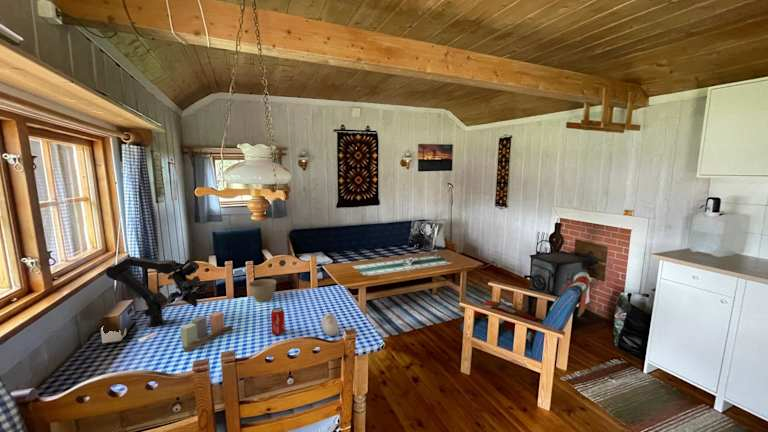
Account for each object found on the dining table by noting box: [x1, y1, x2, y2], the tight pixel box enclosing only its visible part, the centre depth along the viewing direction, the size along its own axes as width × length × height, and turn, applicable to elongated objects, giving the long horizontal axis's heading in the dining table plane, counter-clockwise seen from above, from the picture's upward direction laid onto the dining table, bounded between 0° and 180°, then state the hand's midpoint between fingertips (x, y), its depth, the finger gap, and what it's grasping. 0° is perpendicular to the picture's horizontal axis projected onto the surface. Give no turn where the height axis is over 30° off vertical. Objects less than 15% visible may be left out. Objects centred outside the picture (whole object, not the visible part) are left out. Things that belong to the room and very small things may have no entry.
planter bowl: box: [248, 278, 277, 303], centre depth 199 cm, size 16×16×11 cm
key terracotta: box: [209, 311, 225, 334], centre depth 155 cm, size 4×4×9 cm
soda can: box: [270, 307, 286, 336], centre depth 156 cm, size 6×6×12 cm
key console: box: [183, 324, 233, 353], centre depth 150 cm, size 12×23×3 cm, turn 155°
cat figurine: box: [320, 312, 340, 337], centre depth 158 cm, size 10×8×15 cm
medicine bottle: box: [100, 327, 127, 344], centre depth 149 cm, size 7×7×12 cm
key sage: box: [180, 322, 198, 348], centre depth 143 cm, size 4×4×9 cm
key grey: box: [191, 315, 208, 341], centre depth 150 cm, size 4×4×9 cm
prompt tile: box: [137, 332, 158, 343], centre depth 149 cm, size 12×7×1 cm, turn 65°
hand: (196, 306), depth 160 cm, fingers closed
